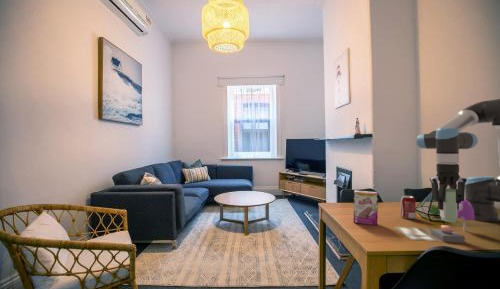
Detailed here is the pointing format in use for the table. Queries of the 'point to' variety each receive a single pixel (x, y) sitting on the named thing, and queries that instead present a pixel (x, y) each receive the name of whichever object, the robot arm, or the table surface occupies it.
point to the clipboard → (418, 234)
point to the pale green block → (450, 205)
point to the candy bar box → (365, 207)
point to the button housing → (447, 236)
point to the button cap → (446, 229)
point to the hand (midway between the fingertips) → (448, 216)
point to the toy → (465, 212)
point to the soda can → (408, 207)
